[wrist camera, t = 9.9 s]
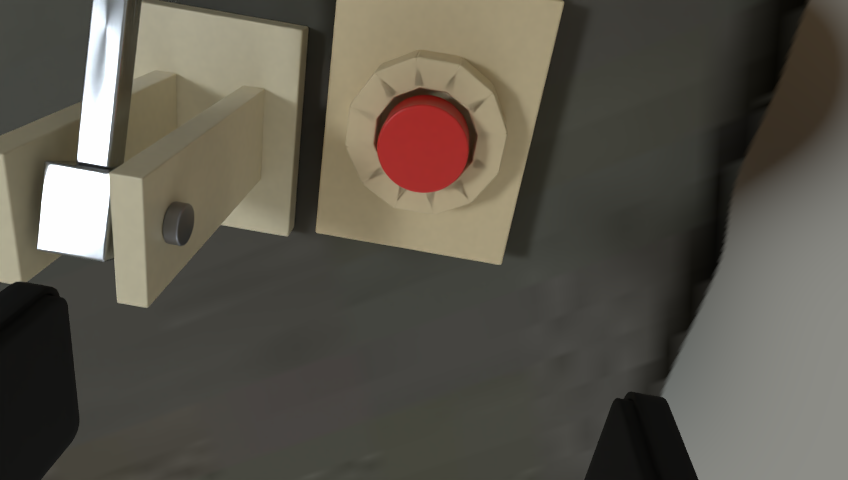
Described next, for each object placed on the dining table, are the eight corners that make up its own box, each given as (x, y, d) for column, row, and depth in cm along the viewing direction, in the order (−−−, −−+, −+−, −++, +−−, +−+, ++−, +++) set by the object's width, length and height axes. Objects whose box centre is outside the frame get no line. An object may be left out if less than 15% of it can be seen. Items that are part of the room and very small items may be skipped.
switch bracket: (131, -5, 28) (-105, 37, 17) (309, 26, 28) (194, 89, 17) (140, 200, 33) (-42, 345, 21) (294, 227, 33) (195, 386, 21)
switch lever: (73, -136, 20) (25, -175, 18) (227, -109, 20) (199, -145, 18) (37, 233, 22) (-11, 242, 20) (180, 258, 22) (149, 271, 20)
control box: (349, -41, 27) (330, -37, 23) (558, -4, 27) (571, 5, 23) (324, 214, 32) (305, 250, 29) (499, 245, 32) (502, 284, 29)
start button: (388, 87, 26) (382, 97, 24) (477, 102, 26) (477, 113, 24) (377, 170, 27) (371, 185, 26) (460, 185, 27) (459, 200, 26)
